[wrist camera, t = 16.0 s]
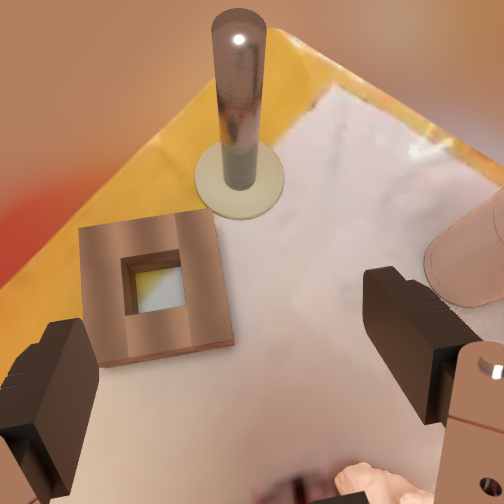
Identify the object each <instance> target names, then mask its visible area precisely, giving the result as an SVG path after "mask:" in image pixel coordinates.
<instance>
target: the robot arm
mask: <svg viewBox="0 0 504 504" xmlns="http://www.w3.org/2000/svg"><path fill="white" fill-rule="evenodd" d="M424 269H425V273H426V277H427V279H428V281H429V283H430V285H431V286H432V288H433V289H434V290H435V291H436V292H437V293H438V294H439V295H440V296H441V297H442V298H444V299H445V300H447V301H448V302H450V303H453V304H455V305H458V306H463V307H476V306H481V305H484V304H487V303H490V302H492V301H495V300H498V299H502V298H504V187H503V188H502V189H501V190H499V191H498V192H497V193H495V194H494V195H493V196H492V197H490V198H489V199H488V200H486V201H485V202H484V203H482V204H481V205H480V206H478V207H477V208H476V209H474V210H473V211H472V212H471V213H469V214H468V215H467V216H465V217H464V218H463V219H461V220H460V221H459V222H457V223H456V224H455V225H453V226H452V227H451V228H449V229H448V230H447V231H445V232H444V233H443V234H441V235H440V236H439V237H438V238H436V239H435V240H434V241H433V242H432V243H431V244H430V245H429V247H428V249H427V251H426V254H425V258H424ZM363 323H364V327H365V330H366V332H367V335H368V336H369V338H370V340H371V341H372V343H373V344H374V346H375V348H376V349H377V351H378V352H379V354H380V355H381V357H382V359H383V360H384V362H385V363H386V365H387V367H388V368H389V370H390V371H391V373H392V375H393V376H394V378H395V379H396V381H397V383H398V384H399V386H400V387H401V389H402V390H403V392H404V394H405V395H406V397H407V398H408V400H409V402H410V403H411V405H412V406H413V408H414V410H415V411H416V413H417V414H418V416H419V417H420V419H421V421H422V422H423V424H424V425H428V424H433V423H438V422H441V423H442V424H443V426H444V427H445V429H446V431H445V437H444V443H443V448H442V454H441V460H440V466H439V472H438V478H437V484H436V490H435V496H434V502H433V504H504V345H502V344H498V343H494V342H486V341H483V340H482V339H481V338H480V337H479V336H478V335H477V334H476V333H475V332H474V331H473V330H472V329H471V328H470V327H469V326H468V325H466V324H465V323H464V322H463V321H462V320H461V319H460V318H459V317H458V316H457V315H456V314H455V313H454V312H453V311H452V310H450V308H449V307H448V306H447V305H446V304H445V303H444V302H443V301H441V299H440V298H439V297H438V296H437V295H436V294H435V293H434V292H433V291H432V290H431V289H430V288H429V287H427V286H425V285H423V284H421V283H419V282H417V281H415V280H408V281H406V280H405V279H404V277H403V276H402V275H401V274H400V273H399V272H398V271H397V270H396V269H395V268H394V267H393V266H387V267H382V268H376V269H370V270H366V271H365V272H364V276H363ZM98 383H99V367H98V362H97V359H96V356H95V353H94V351H93V348H92V345H91V342H90V340H89V337H88V334H87V331H86V329H85V326H84V323H83V322H82V320H81V319H80V318H74V319H68V320H62V321H56V322H50V323H49V324H48V325H47V327H46V329H45V331H44V333H43V335H42V337H41V339H40V341H39V343H36V344H31V345H30V346H29V347H28V348H27V349H26V350H25V351H24V352H23V353H21V354H20V355H19V356H18V357H17V358H16V360H15V361H14V363H13V365H12V367H11V369H10V371H9V372H8V377H6V378H5V380H4V382H3V384H2V385H1V390H0V504H49V503H50V499H53V498H58V497H63V496H68V495H70V492H71V488H72V484H73V480H74V476H75V472H76V469H77V465H78V461H79V457H80V453H81V449H82V445H83V441H84V438H85V434H86V430H87V426H88V422H89V418H90V414H91V410H92V407H93V403H94V399H95V395H96V391H97V387H98ZM310 504H370V503H369V501H368V498H367V496H366V493H365V491H360V492H356V493H351V494H346V495H341V496H337V497H332V498H327V499H322V500H318V501H313V502H311V503H310Z"/></svg>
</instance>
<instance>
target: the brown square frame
mask: <svg viewBox="0 0 504 504" xmlns="http://www.w3.org/2000/svg"><path fill="white" fill-rule="evenodd" d="M78 231H79V249H80V268H81V286H82V305H83V323H84V326H85V329H86V331H87V334H88V337H89V340H90V342H91V345H92V348H93V351H94V353H95V356H96V359H97V362H98V367H101V368H109V367H115V366H120V365H126V364H131V363H137V362H143V361H148V360H154V359H159V358H165V357H170V356H176V355H181V354H187V353H193V352H198V351H204V350H209V349H215V348H220V347H226V346H231V345H234V341H233V335H232V328H231V322H230V316H229V310H228V304H227V298H226V292H225V285H224V279H223V273H222V267H221V261H220V255H219V249H218V242H217V236H216V230H215V224H214V218H213V212H212V208H206V209H200V210H193V211H187V212H180V213H174V214H167V215H161V216H154V217H148V218H141V219H135V220H128V221H122V222H115V223H109V224H102V225H96V226H89V227H82V228H78ZM178 266H181V268H182V275H183V283H184V290H185V298H186V305H187V306H181V307H175V308H169V309H164V310H158V311H152V312H146V313H140V314H138V303H137V293H136V282H135V273H141V272H147V271H153V270H159V269H165V268H171V267H178Z"/></svg>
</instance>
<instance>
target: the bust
mask: <svg viewBox="0 0 504 504" xmlns="http://www.w3.org/2000/svg"><path fill="white" fill-rule="evenodd" d="M334 482H335V485H336V487H337V489H338V491H339V493H340V495H346V494H351V493H356V492H360V491H365V493H366V496H367V498H368V501H369V503H370V504H433V502H434V496H435V493H433V492H427V491H424V490H421V489H418V488H417V487H415V486H413V485H412V484H411V483H409V482H407V480H406V479H405V478H403V477H402V476H401V475H398V474H392V473H390V472H388V471H387V470H381V469H377V468H375V469H373V468H372V467H371V466H370V465H369V464H368V463H365V462H361V463H358V464H356V465H352V466H347V467H346V468H345V469H344V470H343V471H342V472H339V473H338V475H337V476H336V477H335V480H334Z"/></svg>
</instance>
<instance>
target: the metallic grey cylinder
mask: <svg viewBox="0 0 504 504" xmlns="http://www.w3.org/2000/svg"><path fill="white" fill-rule="evenodd" d="M211 30H212V42H213V53H214V66H215V79H216V91H217V103H218V115H219V127H220V139H221V151H222V164H223V176H224V181H225V183H226V185H227V186H228V187H230V188H231V189H233V190H236V191H243V190H247V189H249V188H250V187H251V186H252V185H253V184H254V183H255V180H256V171H257V157H258V143H259V129H260V115H261V101H262V87H263V74H264V60H265V46H266V32H267V29H266V24H265V22H264V20H263V19H262V18H261V17H260V16H259V15H258V14H257V13H255V12H253V11H251V10H248V9H243V8H234V9H229V10H226V11H224V12H222V13H221V14H219V15H218V16H217V17H216V18H215V20H214V21H213V24H212V29H211Z"/></svg>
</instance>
